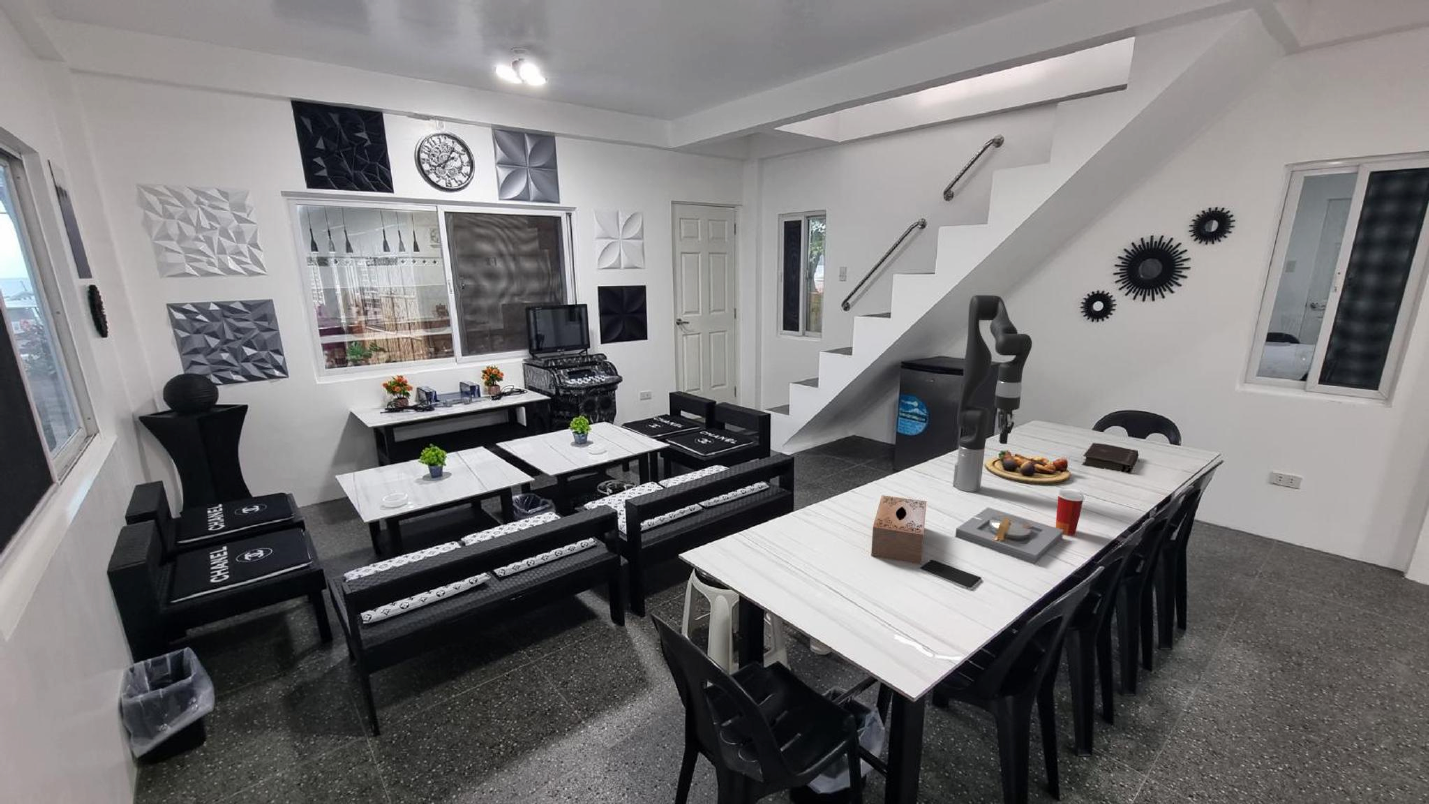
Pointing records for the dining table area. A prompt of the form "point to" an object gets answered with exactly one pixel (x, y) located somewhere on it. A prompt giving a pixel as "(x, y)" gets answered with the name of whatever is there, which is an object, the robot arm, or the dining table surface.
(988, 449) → the dining table surface
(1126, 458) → the diary
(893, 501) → the tissue box cover
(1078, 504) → the paper cup
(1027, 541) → the panel
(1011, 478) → the wooden plate with food
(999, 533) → the dial
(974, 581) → the smartphone
